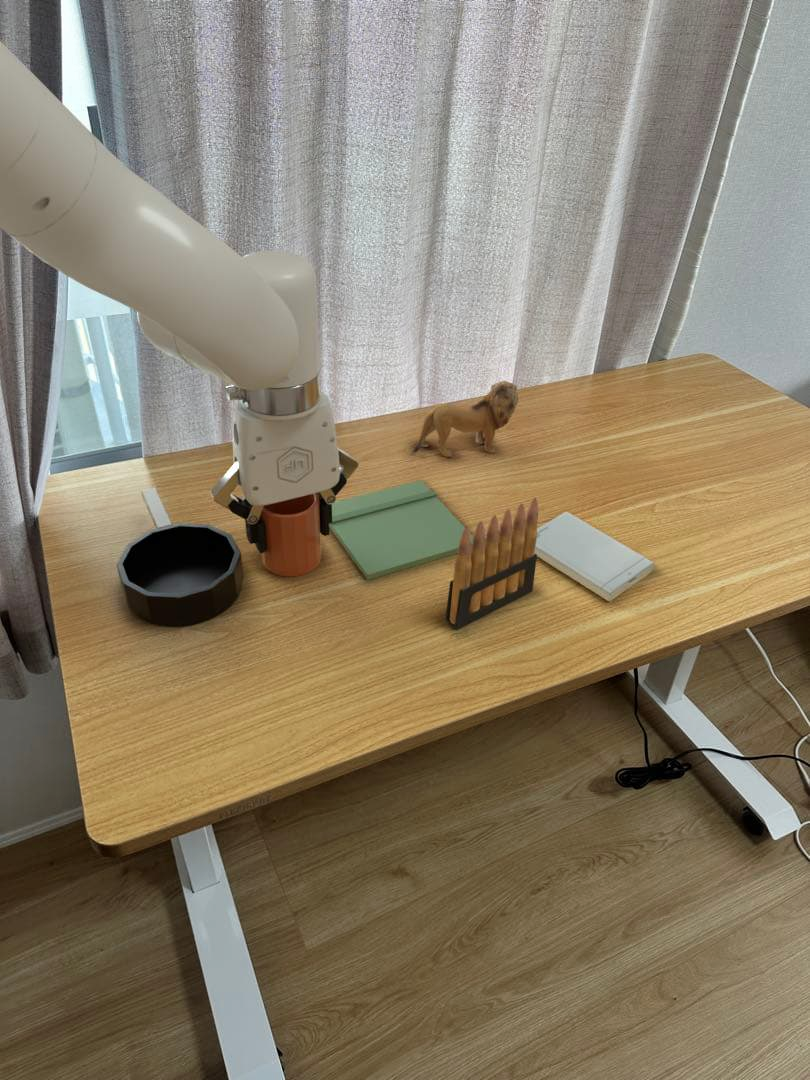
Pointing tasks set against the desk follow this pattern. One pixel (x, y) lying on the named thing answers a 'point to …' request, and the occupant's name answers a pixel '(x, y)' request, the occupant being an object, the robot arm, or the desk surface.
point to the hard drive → (590, 556)
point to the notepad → (395, 529)
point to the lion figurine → (472, 418)
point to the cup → (292, 536)
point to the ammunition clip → (493, 566)
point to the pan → (179, 570)
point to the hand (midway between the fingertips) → (290, 535)
